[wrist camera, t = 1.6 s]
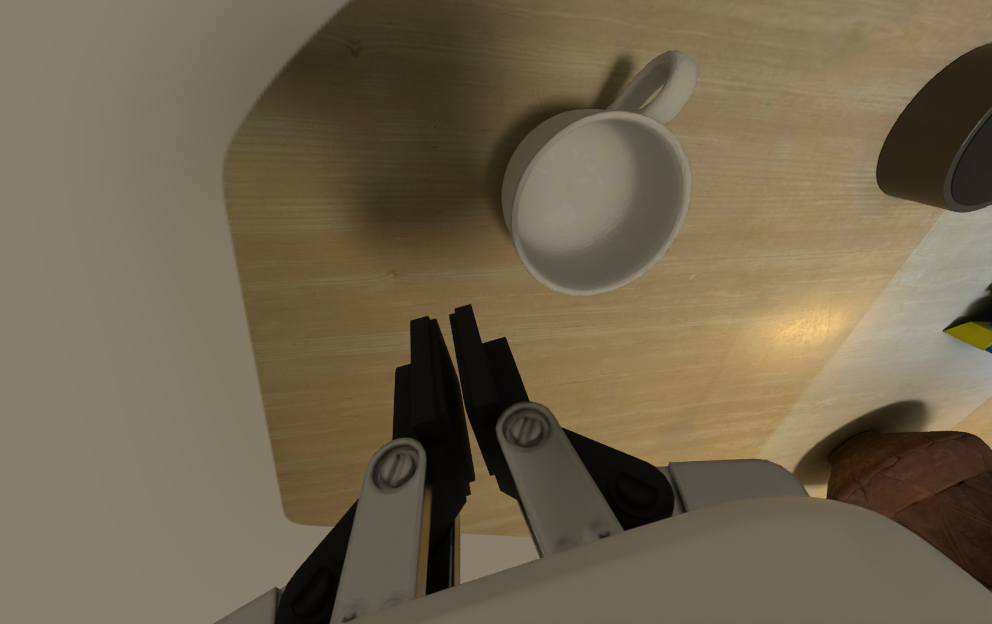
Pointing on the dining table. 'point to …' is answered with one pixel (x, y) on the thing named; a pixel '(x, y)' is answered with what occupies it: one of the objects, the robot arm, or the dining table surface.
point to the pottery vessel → (924, 489)
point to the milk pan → (945, 139)
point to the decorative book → (974, 334)
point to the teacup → (603, 185)
